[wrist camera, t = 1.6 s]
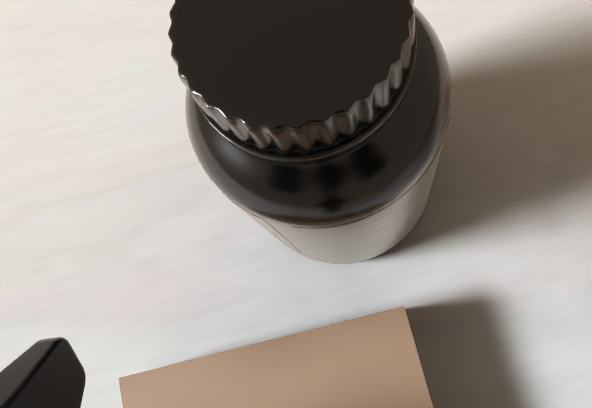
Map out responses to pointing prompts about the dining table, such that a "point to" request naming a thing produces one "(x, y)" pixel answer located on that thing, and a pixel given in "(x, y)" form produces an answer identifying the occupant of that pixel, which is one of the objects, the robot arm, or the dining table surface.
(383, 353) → the tan flat square block
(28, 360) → the robot arm
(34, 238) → the dining table surface
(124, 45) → the dining table surface
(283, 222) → the supplement bottle
